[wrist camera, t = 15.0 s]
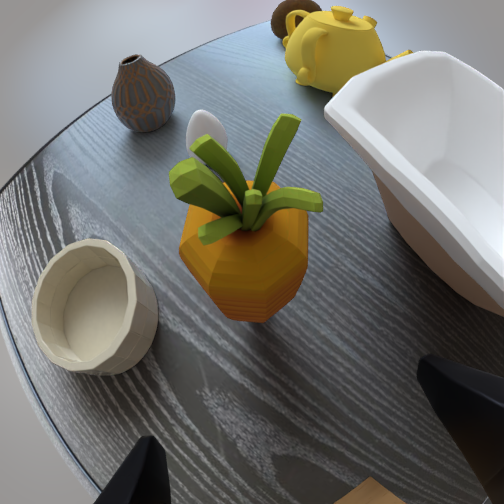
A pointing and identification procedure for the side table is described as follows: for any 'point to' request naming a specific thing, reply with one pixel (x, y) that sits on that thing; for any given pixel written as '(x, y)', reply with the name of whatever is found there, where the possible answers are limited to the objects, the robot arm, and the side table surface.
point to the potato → (292, 3)
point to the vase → (142, 94)
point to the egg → (204, 130)
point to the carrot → (244, 226)
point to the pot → (94, 309)
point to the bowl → (435, 163)
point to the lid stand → (370, 494)
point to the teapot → (332, 47)
